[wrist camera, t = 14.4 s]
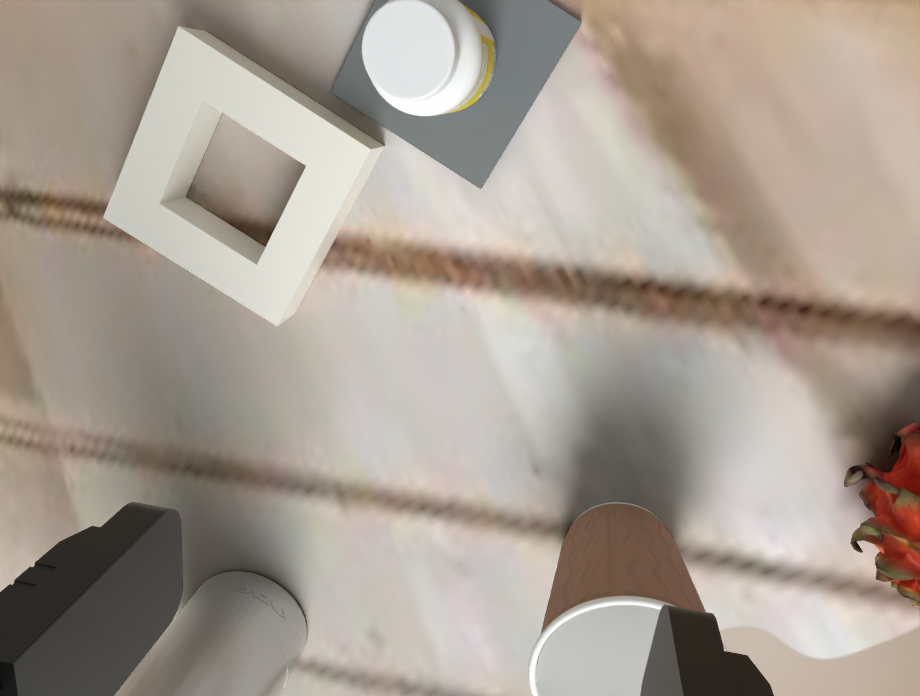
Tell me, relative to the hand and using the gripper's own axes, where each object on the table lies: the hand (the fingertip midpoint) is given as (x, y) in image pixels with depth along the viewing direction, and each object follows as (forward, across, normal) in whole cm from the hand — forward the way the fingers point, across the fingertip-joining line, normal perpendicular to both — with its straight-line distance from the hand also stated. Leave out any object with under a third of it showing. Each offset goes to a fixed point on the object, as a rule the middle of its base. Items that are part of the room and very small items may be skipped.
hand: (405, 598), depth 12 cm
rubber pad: (+32, +6, -9) cm, 34 cm away
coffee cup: (+32, -9, +19) cm, 39 cm away
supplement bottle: (+32, +6, -9) cm, 33 cm away
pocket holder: (+32, +17, -1) cm, 36 cm away
